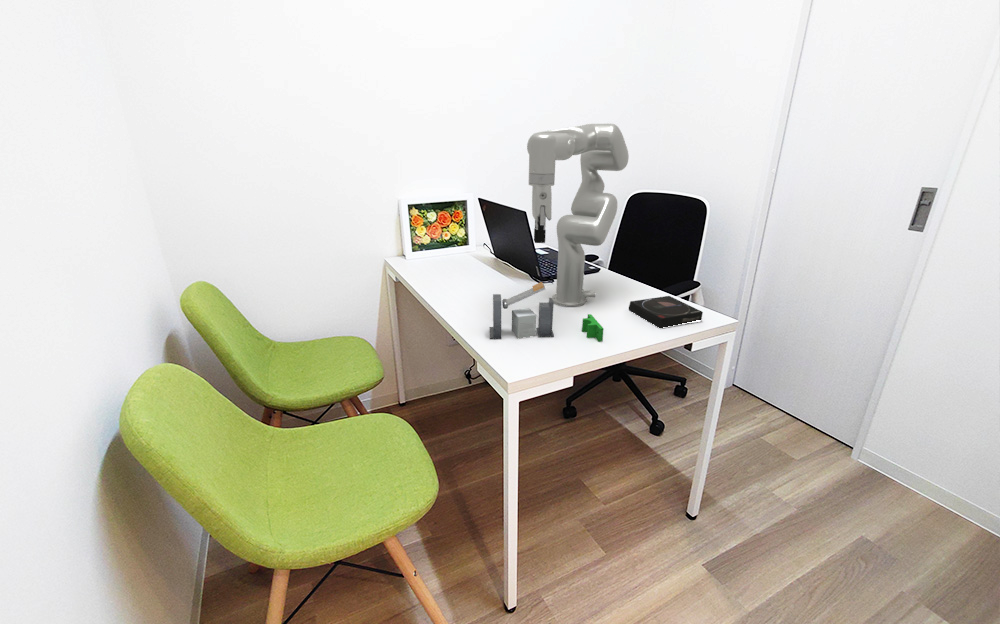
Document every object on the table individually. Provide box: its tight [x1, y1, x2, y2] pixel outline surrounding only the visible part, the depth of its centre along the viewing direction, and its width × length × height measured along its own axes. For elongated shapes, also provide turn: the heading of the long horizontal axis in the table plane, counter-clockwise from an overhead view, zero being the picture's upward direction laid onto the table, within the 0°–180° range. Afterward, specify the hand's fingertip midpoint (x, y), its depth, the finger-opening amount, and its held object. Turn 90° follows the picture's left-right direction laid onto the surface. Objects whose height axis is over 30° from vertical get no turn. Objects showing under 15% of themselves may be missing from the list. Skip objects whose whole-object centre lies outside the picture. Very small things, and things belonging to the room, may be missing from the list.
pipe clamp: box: [581, 313, 604, 343], centre depth 137 cm, size 11×4×5 cm, turn 8°
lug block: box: [536, 297, 555, 338], centre depth 136 cm, size 5×6×11 cm
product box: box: [511, 307, 537, 339], centre depth 137 cm, size 6×6×7 cm
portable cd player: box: [628, 295, 704, 329], centre depth 151 cm, size 16×17×4 cm
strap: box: [501, 281, 546, 310], centre depth 134 cm, size 14×4×2 cm, turn 92°
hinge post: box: [489, 293, 502, 340], centre depth 136 cm, size 4×8×12 cm, turn 2°
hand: (539, 241), depth 136 cm, fingers closed
